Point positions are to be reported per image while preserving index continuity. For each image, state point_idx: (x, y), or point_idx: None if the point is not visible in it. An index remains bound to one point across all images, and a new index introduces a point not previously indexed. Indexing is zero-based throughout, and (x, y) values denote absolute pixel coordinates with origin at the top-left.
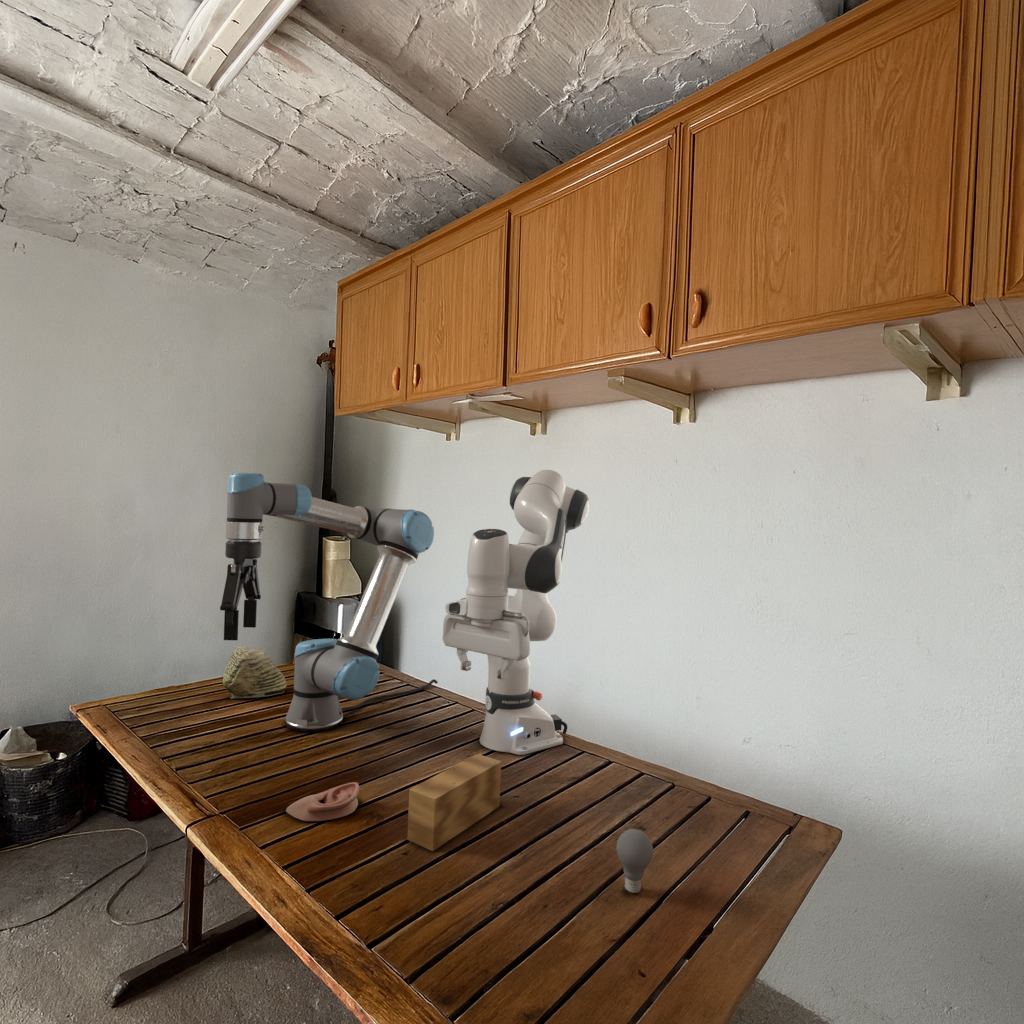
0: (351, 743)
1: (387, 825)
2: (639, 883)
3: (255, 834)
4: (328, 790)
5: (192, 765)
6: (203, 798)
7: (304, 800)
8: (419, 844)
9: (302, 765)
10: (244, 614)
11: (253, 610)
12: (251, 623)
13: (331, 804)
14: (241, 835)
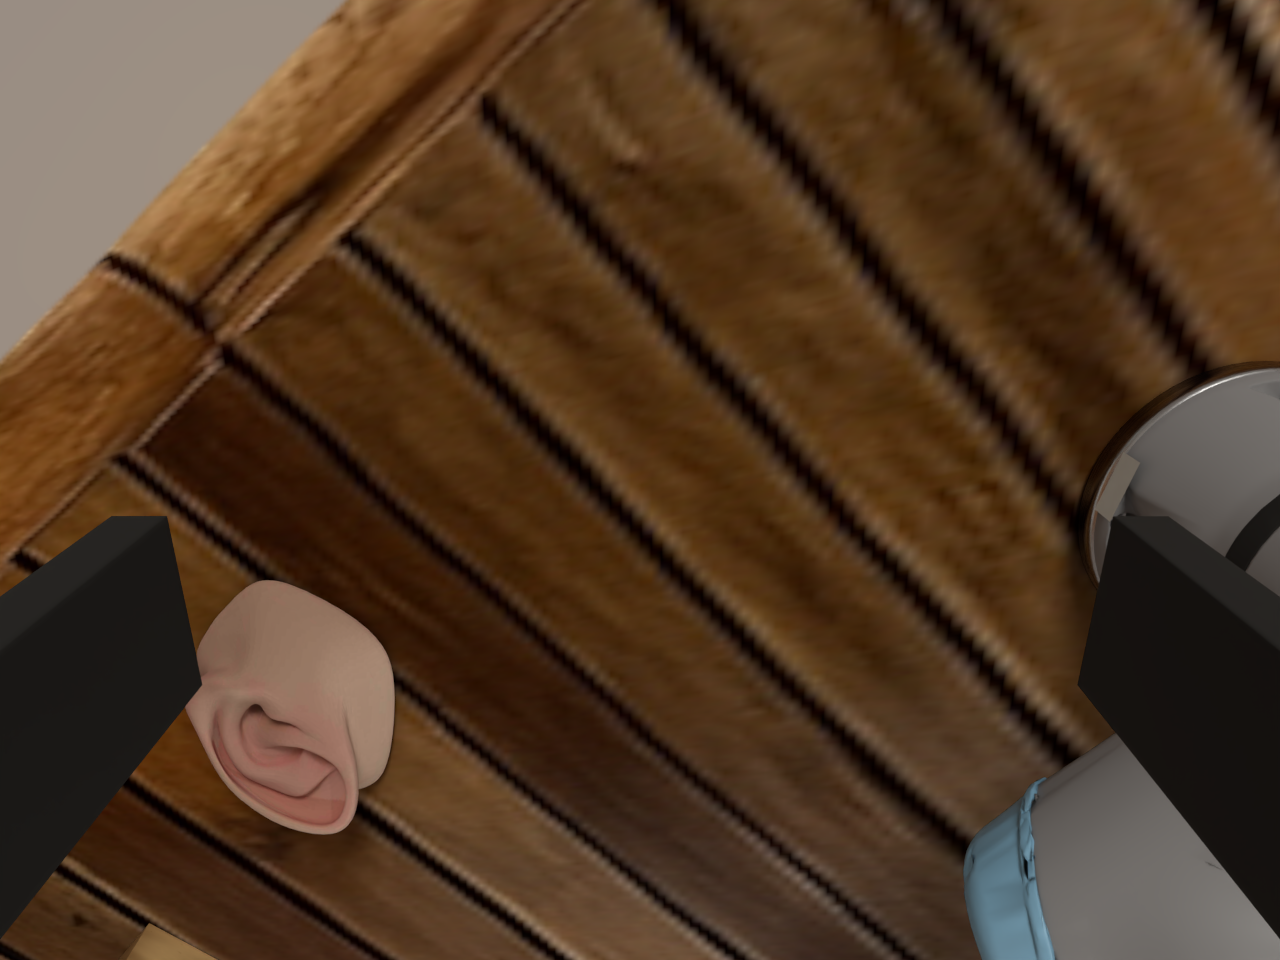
0: (912, 701)
1: (224, 872)
2: None
3: (95, 516)
4: (316, 732)
5: (693, 31)
6: (338, 230)
7: (262, 655)
8: (124, 952)
9: (679, 551)
10: (1257, 650)
11: (1271, 875)
12: (1121, 673)
13: (227, 750)
14: (78, 473)
